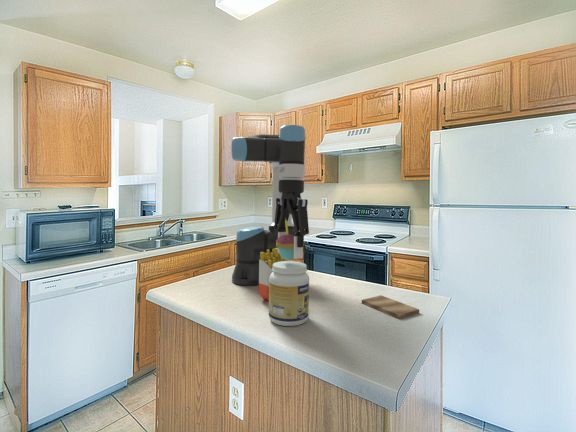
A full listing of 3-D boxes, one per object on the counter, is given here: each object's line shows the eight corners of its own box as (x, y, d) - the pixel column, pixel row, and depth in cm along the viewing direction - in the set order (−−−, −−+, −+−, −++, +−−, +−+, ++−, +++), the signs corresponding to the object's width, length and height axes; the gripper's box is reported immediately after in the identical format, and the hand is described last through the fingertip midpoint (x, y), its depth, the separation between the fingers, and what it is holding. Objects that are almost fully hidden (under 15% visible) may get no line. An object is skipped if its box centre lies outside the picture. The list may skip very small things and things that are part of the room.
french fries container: (288, 296, 115) (289, 248, 113) (267, 304, 107) (268, 252, 105) (279, 293, 118) (280, 247, 116) (258, 300, 110) (259, 250, 108)
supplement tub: (303, 330, 87) (304, 270, 85) (262, 324, 90) (263, 267, 89) (311, 314, 99) (313, 261, 97) (275, 309, 102) (276, 258, 101)
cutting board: (361, 303, 109) (361, 299, 109) (380, 298, 115) (380, 295, 115) (399, 319, 96) (399, 315, 96) (419, 312, 101) (419, 309, 101)
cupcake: (269, 257, 93) (270, 217, 92) (288, 253, 99) (289, 216, 98) (290, 262, 87) (291, 220, 86) (309, 258, 93) (310, 218, 92)
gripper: (263, 179, 98) (262, 250, 100) (301, 177, 80) (299, 263, 82) (283, 180, 102) (282, 248, 104) (323, 179, 84) (321, 260, 86)
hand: (289, 255), depth 93 cm, fingers closed on cupcake, 8 cm apart
